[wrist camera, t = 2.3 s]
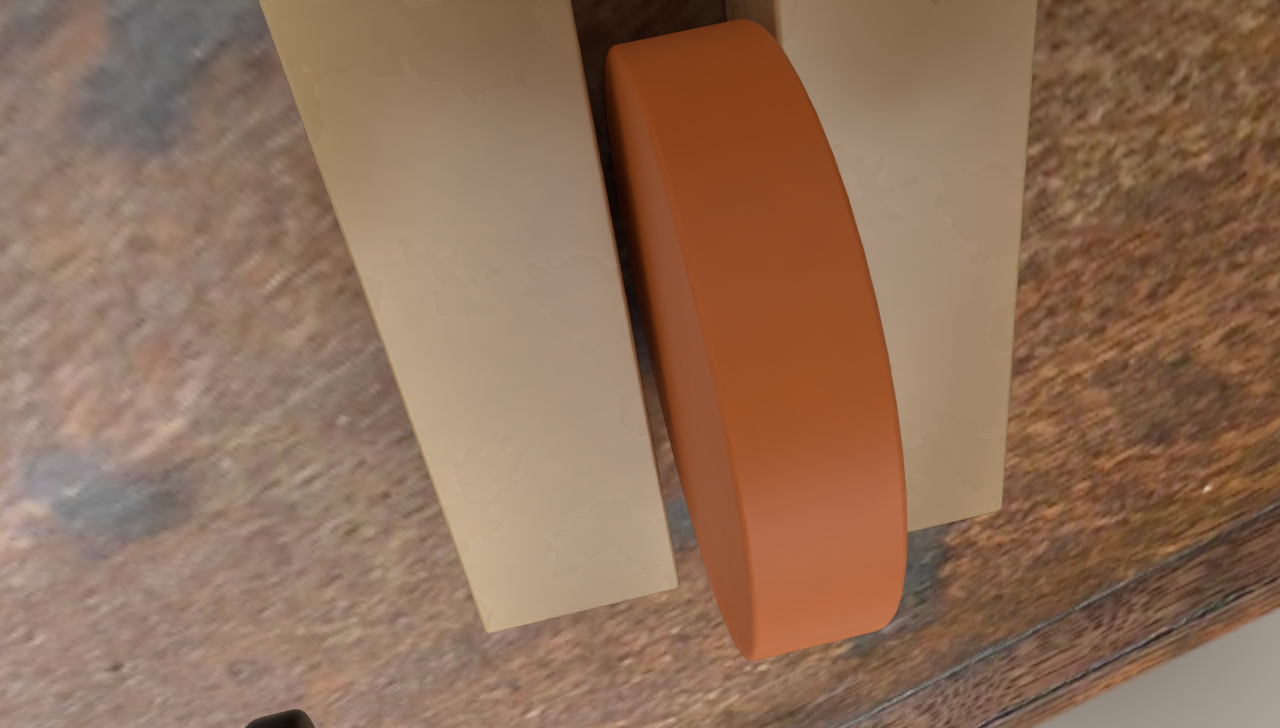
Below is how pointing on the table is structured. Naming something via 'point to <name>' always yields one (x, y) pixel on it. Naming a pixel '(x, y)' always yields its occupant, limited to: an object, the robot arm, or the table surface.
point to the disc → (760, 335)
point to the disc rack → (591, 272)
